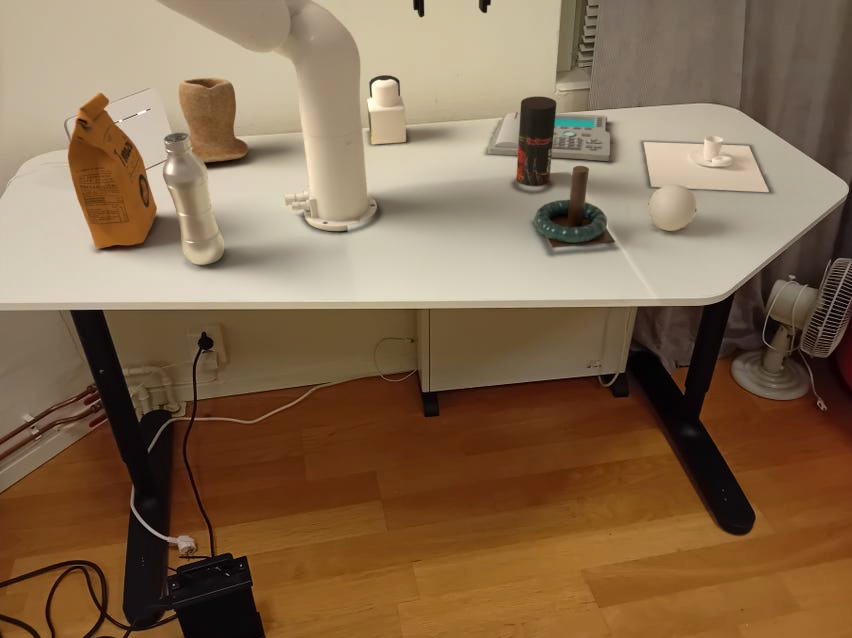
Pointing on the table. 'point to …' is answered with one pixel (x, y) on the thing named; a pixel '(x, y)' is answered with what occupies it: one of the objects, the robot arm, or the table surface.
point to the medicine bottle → (386, 111)
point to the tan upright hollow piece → (211, 118)
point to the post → (577, 210)
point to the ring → (570, 233)
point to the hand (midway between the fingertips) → (451, 12)
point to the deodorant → (535, 140)
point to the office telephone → (559, 137)
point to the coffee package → (109, 178)
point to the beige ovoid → (672, 207)
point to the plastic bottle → (192, 200)
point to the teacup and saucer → (704, 166)
